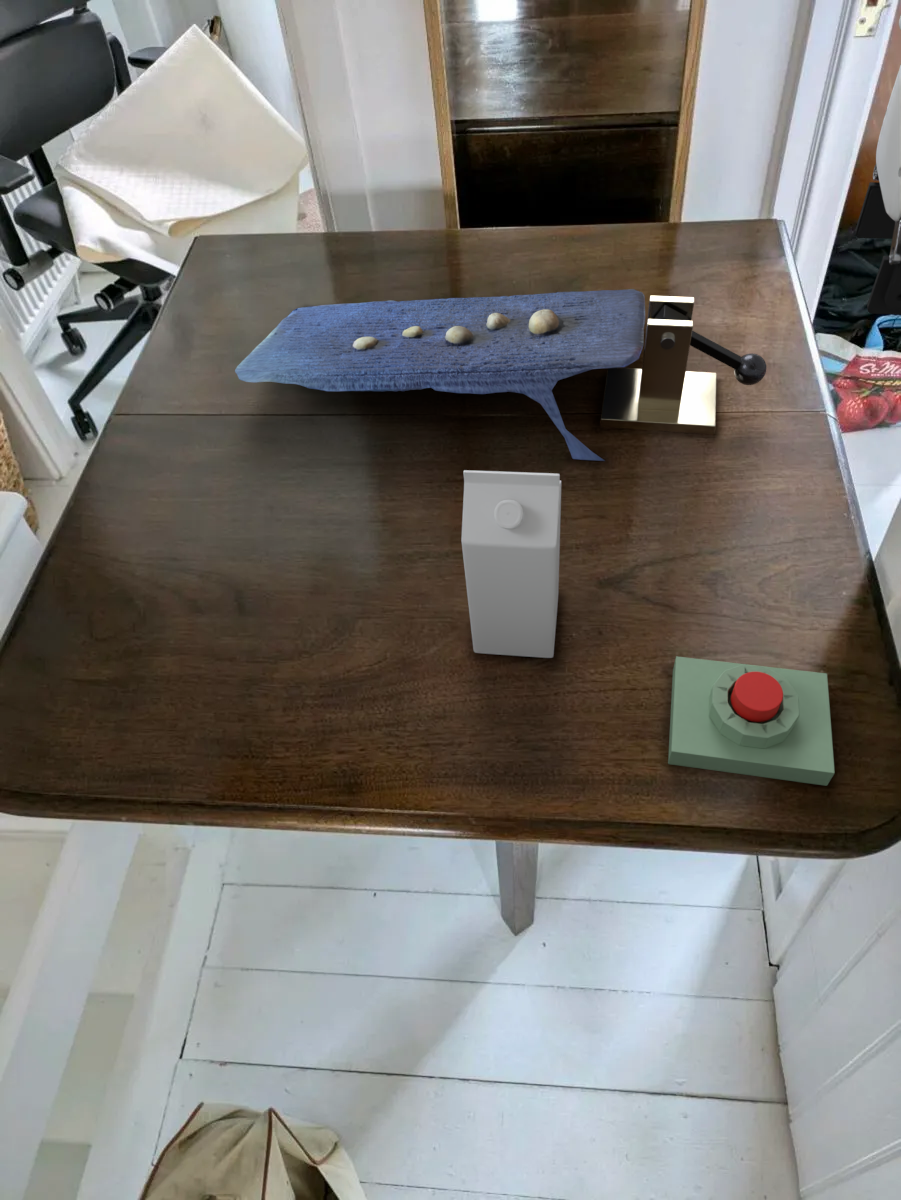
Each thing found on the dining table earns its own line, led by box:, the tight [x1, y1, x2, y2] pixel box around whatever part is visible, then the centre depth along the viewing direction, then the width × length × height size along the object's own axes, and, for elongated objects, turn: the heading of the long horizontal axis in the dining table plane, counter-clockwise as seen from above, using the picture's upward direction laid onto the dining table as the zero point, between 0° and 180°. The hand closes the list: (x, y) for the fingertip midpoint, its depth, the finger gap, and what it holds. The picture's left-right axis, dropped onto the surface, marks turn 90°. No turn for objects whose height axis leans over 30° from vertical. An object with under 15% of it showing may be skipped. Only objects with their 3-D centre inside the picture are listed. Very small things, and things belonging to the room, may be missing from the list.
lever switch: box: [654, 305, 767, 386], centre depth 88 cm, size 13×3×3 cm, turn 79°
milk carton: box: [460, 469, 562, 659], centre depth 70 cm, size 7×7×19 cm
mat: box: [234, 288, 646, 462], centre depth 100 cm, size 45×27×12 cm, turn 82°
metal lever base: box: [599, 295, 718, 435], centre depth 90 cm, size 12×9×12 cm
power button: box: [731, 672, 783, 722], centre depth 66 cm, size 4×4×2 cm
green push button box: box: [667, 655, 835, 786], centre depth 68 cm, size 12×9×4 cm
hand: (883, 272), depth 62 cm, fingers open, 9 cm apart
